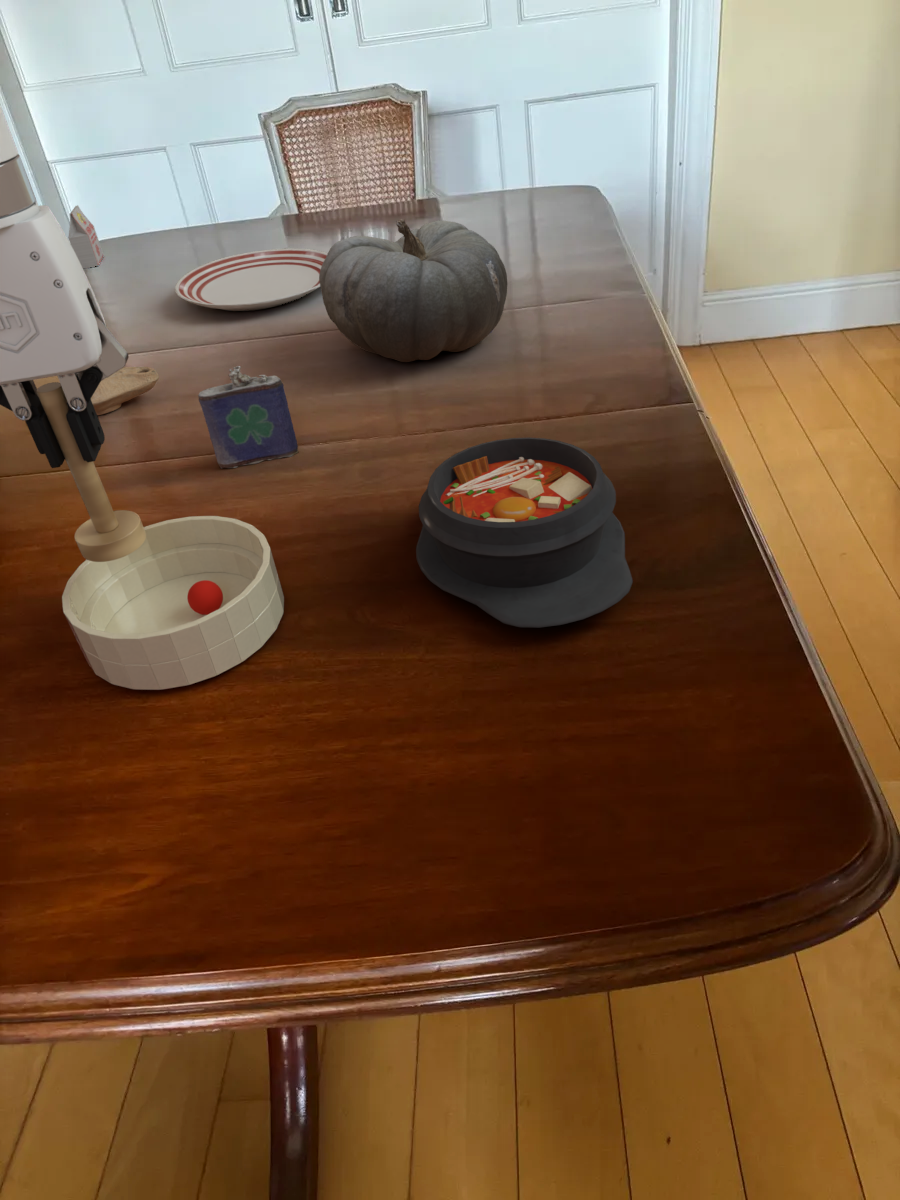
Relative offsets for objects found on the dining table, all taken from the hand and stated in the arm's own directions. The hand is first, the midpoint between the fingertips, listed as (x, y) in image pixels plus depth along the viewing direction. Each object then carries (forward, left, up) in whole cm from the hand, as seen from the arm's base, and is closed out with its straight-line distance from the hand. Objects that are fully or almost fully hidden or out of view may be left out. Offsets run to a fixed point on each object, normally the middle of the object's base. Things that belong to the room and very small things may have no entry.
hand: (77, 454), depth 67 cm
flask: (+8, +30, -18) cm, 36 cm away
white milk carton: (-29, +125, -18) cm, 130 cm away
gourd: (+30, +57, -18) cm, 67 cm away
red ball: (+5, +1, -16) cm, 16 cm away
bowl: (+3, 0, -18) cm, 18 cm away
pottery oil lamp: (-12, +51, -18) cm, 55 cm away
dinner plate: (+6, +90, -18) cm, 92 cm away
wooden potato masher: (0, 0, -8) cm, 8 cm away
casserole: (+33, +2, -18) cm, 38 cm away
